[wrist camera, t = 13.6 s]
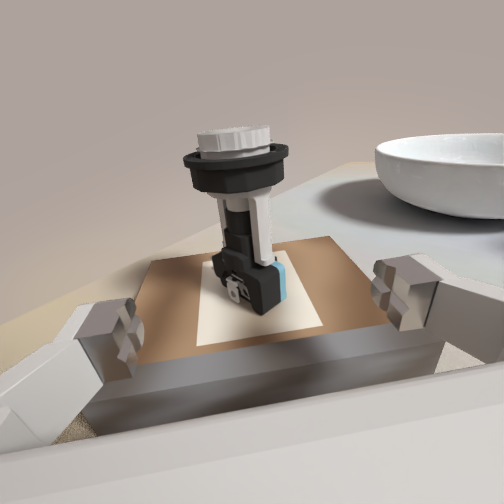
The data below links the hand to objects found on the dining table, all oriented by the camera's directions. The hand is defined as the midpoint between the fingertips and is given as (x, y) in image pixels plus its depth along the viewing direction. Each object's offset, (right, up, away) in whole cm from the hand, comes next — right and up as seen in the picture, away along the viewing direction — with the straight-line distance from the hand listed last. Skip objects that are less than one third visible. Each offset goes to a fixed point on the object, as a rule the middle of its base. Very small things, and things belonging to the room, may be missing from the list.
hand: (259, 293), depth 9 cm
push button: (-1, -1, +9) cm, 10 cm away
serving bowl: (+25, +7, +23) cm, 34 cm away
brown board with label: (0, -2, +10) cm, 10 cm away
